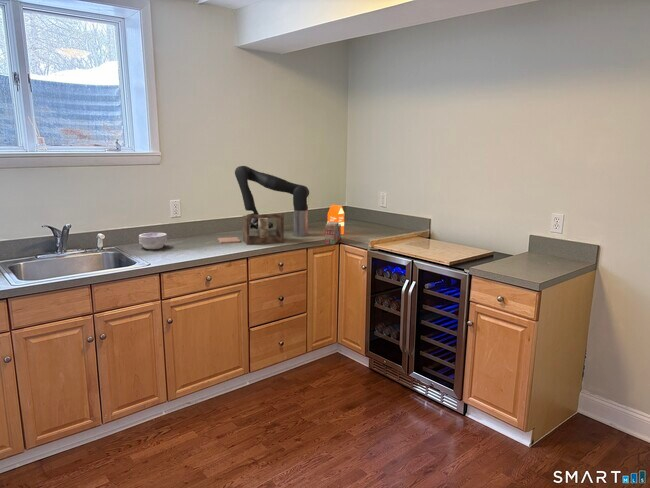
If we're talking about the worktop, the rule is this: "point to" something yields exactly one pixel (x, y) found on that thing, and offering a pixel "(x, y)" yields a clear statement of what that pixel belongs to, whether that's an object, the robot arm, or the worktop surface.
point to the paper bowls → (153, 240)
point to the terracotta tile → (229, 240)
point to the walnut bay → (271, 238)
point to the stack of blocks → (332, 232)
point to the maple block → (263, 227)
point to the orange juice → (336, 216)
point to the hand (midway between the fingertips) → (263, 227)
